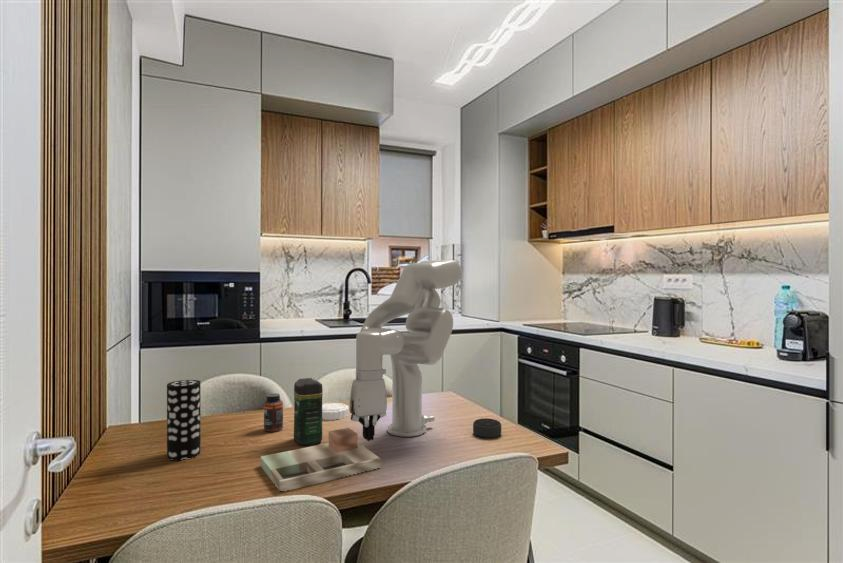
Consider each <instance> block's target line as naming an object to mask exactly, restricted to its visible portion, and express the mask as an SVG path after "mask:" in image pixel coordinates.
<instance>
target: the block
mask: <svg viewBox="0 0 843 563" xmlns="http://www.w3.org/2000/svg"><path fill="white" fill-rule="evenodd" d="M328 443H329V446H330V447H331V448H332V449H333V450H334V451H336V452H342V451H347V450H351V449H356V448H358V443H359V442H358V432H355V430H353V429H351V428H350V427H345V428H341V429H335V430H330V431H328Z"/></svg>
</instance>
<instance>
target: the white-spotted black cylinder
mask: <svg viewBox="0 0 843 563" xmlns="http://www.w3.org/2000/svg"><path fill="white" fill-rule="evenodd" d="M201 383H202V382H201V380H197V379H183V380H176V381H170V382H168V383H166V459H167V458H168V459H167V460H169V459H173V460H181V459H187V458H191V459H193V458H192V457H194V458H196V457H195V456H197V455H198V456H200V455H201V453H200V452H201V449H202V448H201V443H202V442H201V438H202V437H201V432H202V431H201V430H202V429H201V425H202V424H201V421H202V419H201V411H202V410H201V406H202V405H201V399H202V398H201V392H202V391H201ZM199 454H200V455H199ZM198 456H197V457H198Z"/></svg>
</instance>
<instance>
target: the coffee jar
mask: <svg viewBox="0 0 843 563" xmlns="http://www.w3.org/2000/svg"><path fill="white" fill-rule="evenodd" d="M323 394H324V393H323V384H322V383H321V382H320V381H317V380H316V379H314V378H312V377H306V378H299V379H298V380H296V381H295V382H294V385H293V396H294V399H293V400H294V401H293V402H294V403H293V405H294V406H293V407H294V409H293V418H294V419H293V439H294V441H295V443H297V444H298V445H300V446H301V445H303V446H306V445H307V446H314V445H316V444H318V443H321V442H322V441H323V420H322V404H323Z"/></svg>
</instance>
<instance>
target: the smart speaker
mask: <svg viewBox="0 0 843 563" xmlns="http://www.w3.org/2000/svg"><path fill="white" fill-rule="evenodd" d="M472 432H473V434H474V435H475V436H477V437H480V438H484V439H494V438H497V437H499V436H501V435H502V423H501V422H500V421H499V420H497V419H493V418H484V417H483V418H479V419H476V420H474V421H473V423H472Z"/></svg>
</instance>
